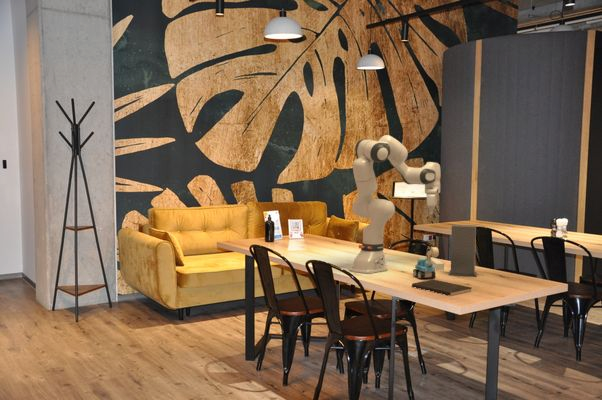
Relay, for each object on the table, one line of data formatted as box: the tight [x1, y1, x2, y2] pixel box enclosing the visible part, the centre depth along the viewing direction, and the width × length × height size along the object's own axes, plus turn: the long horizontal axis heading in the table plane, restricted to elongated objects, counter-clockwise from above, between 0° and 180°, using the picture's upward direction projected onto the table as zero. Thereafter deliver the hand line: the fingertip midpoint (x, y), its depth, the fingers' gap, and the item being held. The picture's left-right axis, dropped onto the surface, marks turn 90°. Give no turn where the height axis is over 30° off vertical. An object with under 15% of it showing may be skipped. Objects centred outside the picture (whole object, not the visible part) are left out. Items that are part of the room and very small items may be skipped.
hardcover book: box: [411, 279, 473, 296], centre depth 287 cm, size 16×23×2 cm
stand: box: [447, 224, 478, 278], centre depth 321 cm, size 10×14×26 cm
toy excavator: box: [412, 246, 440, 280], centre depth 310 cm, size 9×17×17 cm, turn 16°
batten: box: [431, 256, 445, 271], centre depth 342 cm, size 20×4×4 cm, turn 4°
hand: (432, 213), depth 352 cm, fingers open, 8 cm apart
